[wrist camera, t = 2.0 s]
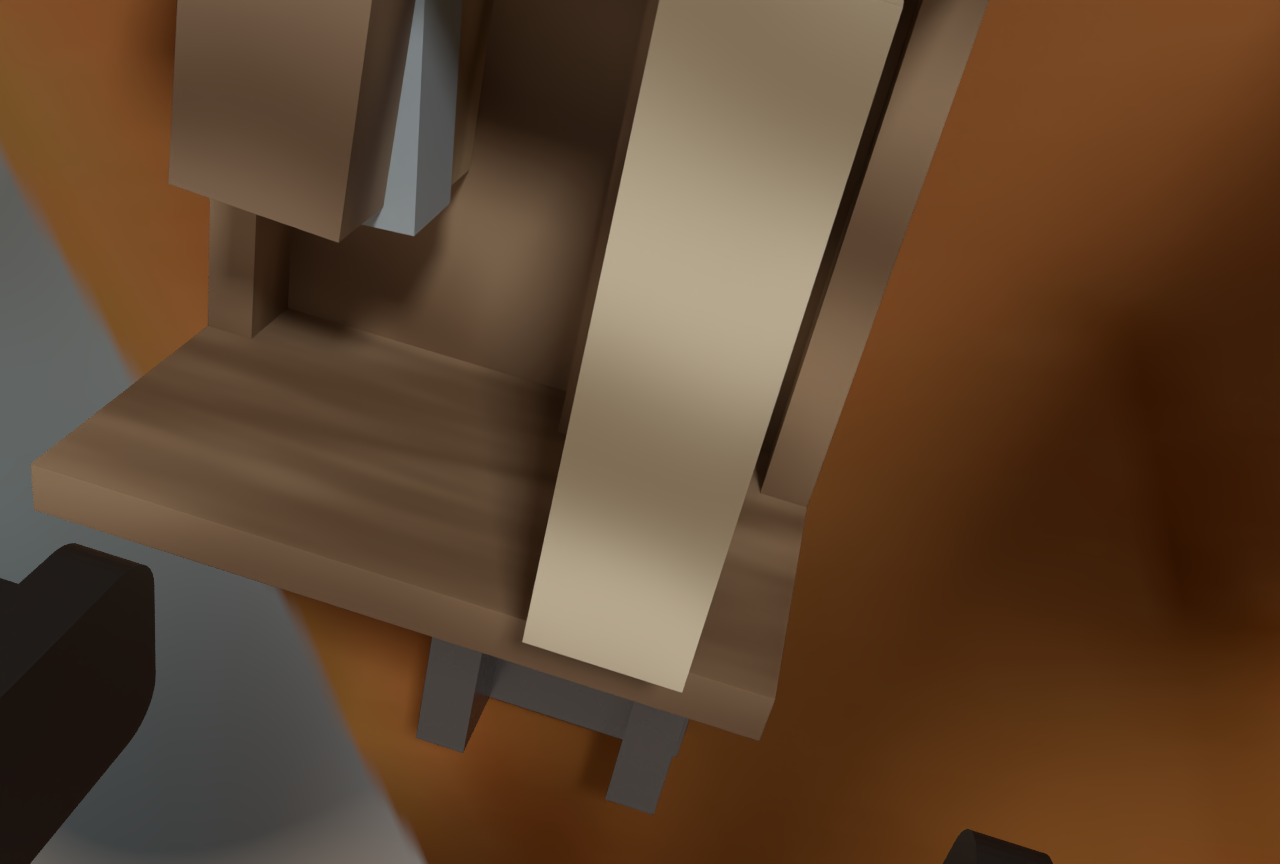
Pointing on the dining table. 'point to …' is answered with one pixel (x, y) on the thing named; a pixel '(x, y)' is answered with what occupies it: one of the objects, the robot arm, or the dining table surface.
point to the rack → (487, 370)
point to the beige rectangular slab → (698, 314)
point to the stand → (473, 677)
